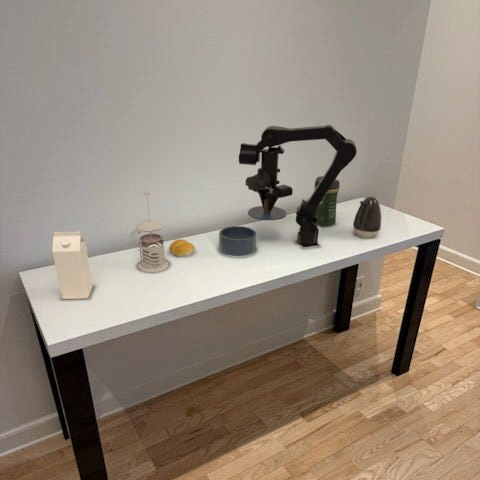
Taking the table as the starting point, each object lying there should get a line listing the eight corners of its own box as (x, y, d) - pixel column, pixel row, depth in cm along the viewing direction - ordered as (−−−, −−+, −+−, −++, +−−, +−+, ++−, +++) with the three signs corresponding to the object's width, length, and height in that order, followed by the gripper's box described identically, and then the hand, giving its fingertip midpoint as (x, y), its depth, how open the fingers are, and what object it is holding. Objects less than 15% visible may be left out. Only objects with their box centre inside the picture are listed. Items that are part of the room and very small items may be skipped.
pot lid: (277, 207, 168) (278, 192, 165) (292, 219, 156) (293, 204, 153) (242, 210, 164) (242, 195, 161) (255, 223, 152) (256, 208, 149)
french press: (160, 274, 140) (153, 197, 128) (127, 268, 143) (118, 193, 131) (173, 261, 149) (168, 187, 136) (142, 256, 151) (134, 184, 139)
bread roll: (180, 259, 150) (179, 248, 148) (166, 251, 156) (165, 240, 154) (200, 253, 154) (199, 242, 152) (185, 244, 160) (185, 234, 158)
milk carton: (68, 287, 132) (56, 227, 123) (93, 286, 133) (82, 227, 123) (62, 299, 126) (49, 237, 117) (88, 298, 127) (77, 237, 117)
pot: (248, 240, 164) (248, 224, 161) (260, 254, 154) (261, 237, 151) (215, 245, 161) (214, 228, 158) (225, 259, 150) (225, 241, 147)
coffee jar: (338, 224, 180) (344, 179, 171) (324, 228, 176) (329, 182, 167) (321, 217, 187) (326, 173, 178) (307, 220, 183) (311, 176, 174)
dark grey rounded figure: (345, 233, 172) (351, 195, 164) (365, 228, 177) (371, 191, 169) (364, 242, 164) (371, 203, 157) (384, 237, 169) (392, 198, 161)
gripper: (233, 163, 153) (233, 207, 161) (270, 175, 140) (267, 222, 148) (258, 159, 159) (256, 201, 167) (295, 170, 147) (291, 215, 154)
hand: (267, 209), depth 159 cm, fingers closed on pot lid, 2 cm apart
